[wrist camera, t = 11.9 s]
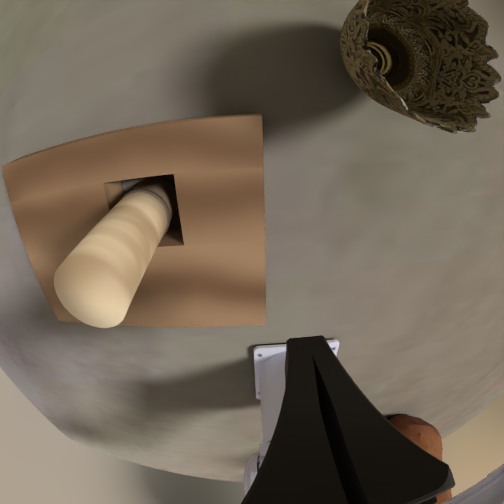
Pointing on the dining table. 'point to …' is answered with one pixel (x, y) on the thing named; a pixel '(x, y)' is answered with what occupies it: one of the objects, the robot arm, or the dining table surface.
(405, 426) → the butternut squash
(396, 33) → the cup
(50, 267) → the walnut board
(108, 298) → the birch dowel
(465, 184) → the dining table surface
